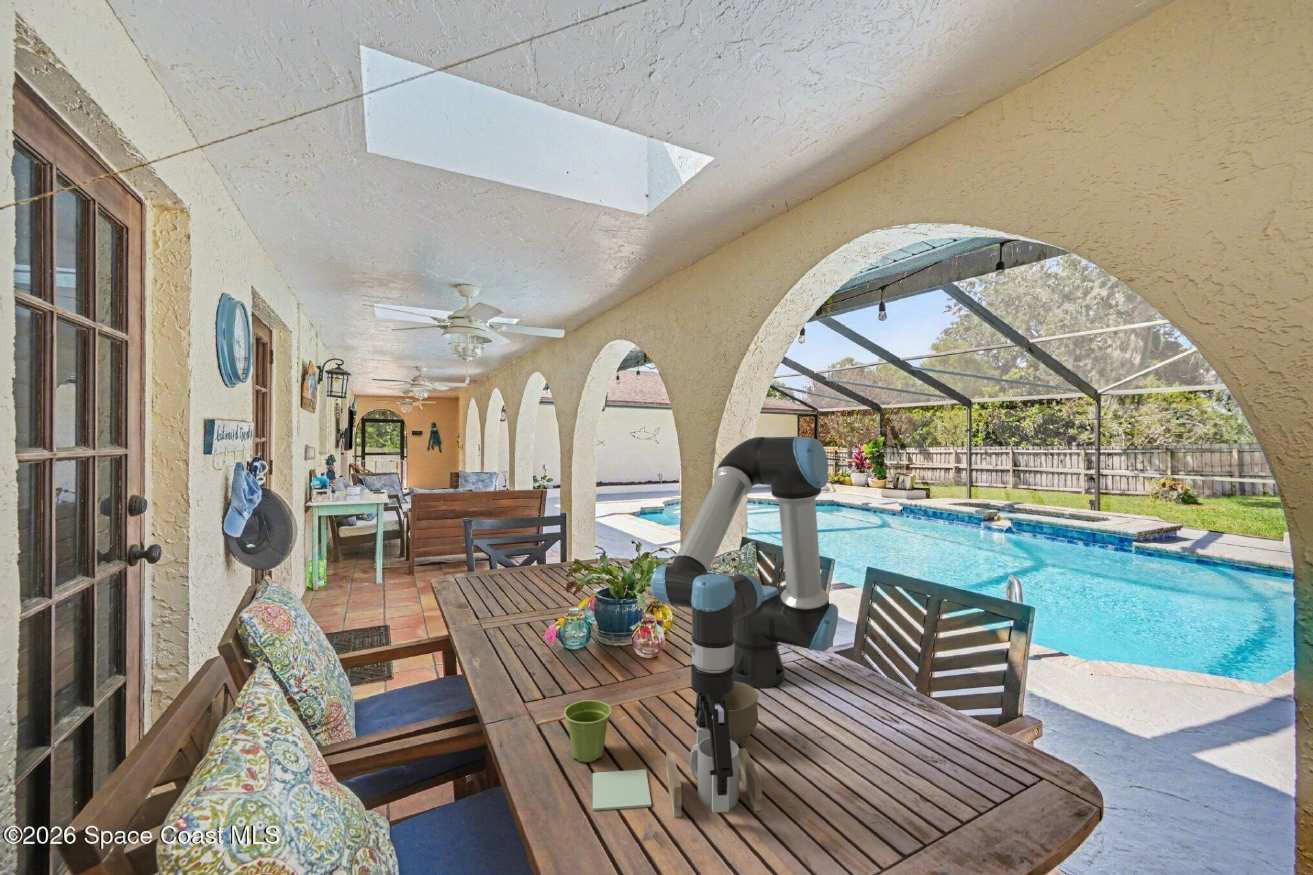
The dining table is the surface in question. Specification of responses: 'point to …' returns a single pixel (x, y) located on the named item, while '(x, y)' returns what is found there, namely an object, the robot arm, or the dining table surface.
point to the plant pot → (587, 728)
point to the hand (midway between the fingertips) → (711, 785)
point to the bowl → (741, 711)
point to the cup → (704, 764)
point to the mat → (620, 790)
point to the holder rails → (745, 772)
